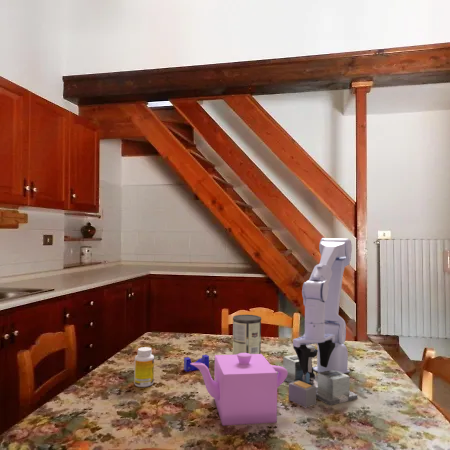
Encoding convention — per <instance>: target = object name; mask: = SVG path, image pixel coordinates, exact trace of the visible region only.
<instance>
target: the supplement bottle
mask: <svg viewBox="0 0 450 450" xmlns="http://www.w3.org/2000/svg"><path fill="white" fill-rule="evenodd" d="M152 353H153V352H152V347H150V346H149V347H148V346H144V347H143V346H142V347H139V348H137V355H135V357H134V367H133V369H134V374H133V376H134V377H133V378H134V379H133V380H134V381H133V383H134V385H135V386H136V387H138V388H148V387H151V386H152V385H153V384H154V377H155V376H154V375H155V371H154V370H155V356H154V354H152Z"/></svg>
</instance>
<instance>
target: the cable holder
mask: <svg viewBox="0 0 450 450" xmlns="http://www.w3.org/2000/svg"><path fill="white" fill-rule="evenodd" d="M190 363H203V364H205V365H206V366H207V367H208V369H210V356H209V355H208V354H202V355H201V357H200V358H198V359H197V360H196V361H195V362H192V358H190V357H188V356H187V357H184V358H183V371H185V372H192V371H197V370H198V371H200V370H199V369H198V368H197V367H195V366H193V365H191V364H190Z"/></svg>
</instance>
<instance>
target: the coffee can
mask: <svg viewBox="0 0 450 450" xmlns="http://www.w3.org/2000/svg"><path fill="white" fill-rule="evenodd" d="M232 321H233V323H232V355H237V354H239V353H249V354H262V353H261V347H262V346H261V345H262V344H261V343H262V341H261V339H262V338H261V337H262V335H261V334H262V317H261V316H260V315H255V314H236V315H234V316H232Z"/></svg>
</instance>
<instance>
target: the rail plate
mask: <svg viewBox="0 0 450 450" xmlns="http://www.w3.org/2000/svg"><path fill="white" fill-rule="evenodd" d="M282 358H283V360H282V367H284V368H285V369H286V370H287V372H288V375H287V377H286V379H285V380H284V382H286V383H288V384H289V383H292V382H295V381H298V380H300V381H302V382H305V383H307V382H306V380H305V379H304V378H303V370H301V367H300V363H299V359H298V356H297V354H291V355H285V356H282ZM277 375H278V372H277ZM350 378H351V376H350V375H348V374H347V373H341V372H339V371H336V370H329V371H324V372H317V374H315V379H314V383H307V384H310V385H312V386H315V387H316V400H317V399H318V400H319V401H321V402H323V403H324V404H326V405H328V406H333V405H337V404H342V403H345V402H348V401H353V400H357V399H359V398H358V397H359V396H358V394H357V393H355V392H353V391H351V390H350V383H351V382H350V381H351V379H350ZM303 379H304V380H303Z"/></svg>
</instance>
